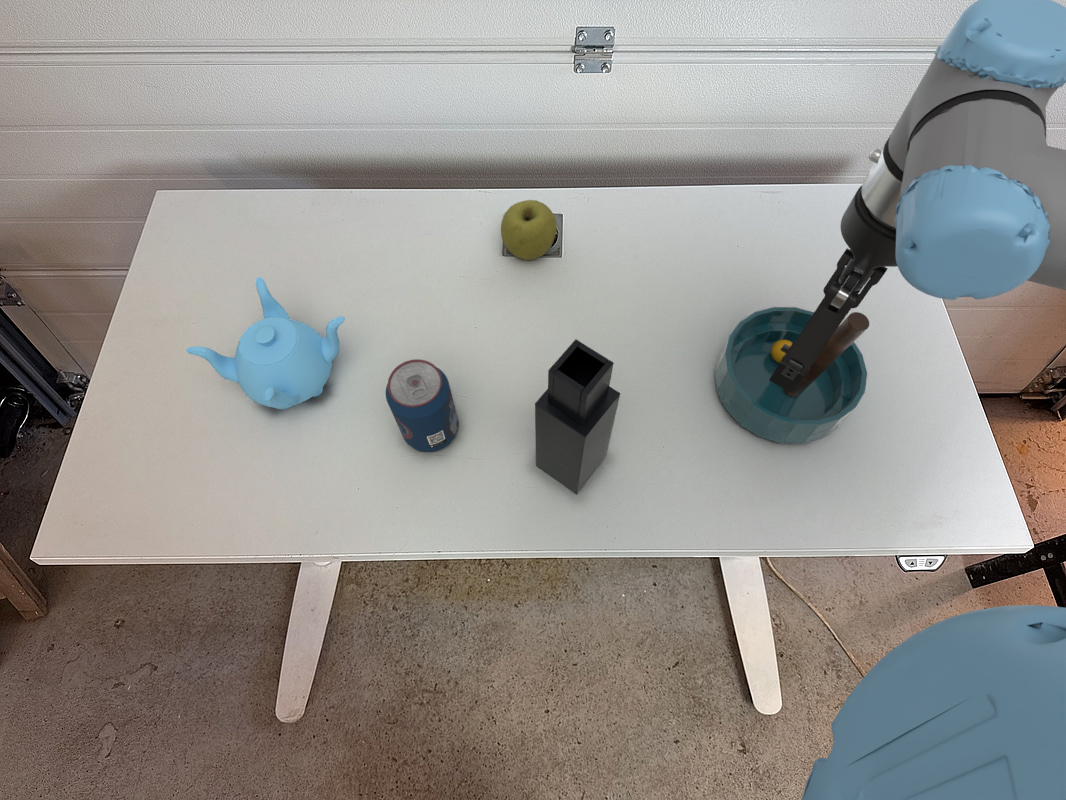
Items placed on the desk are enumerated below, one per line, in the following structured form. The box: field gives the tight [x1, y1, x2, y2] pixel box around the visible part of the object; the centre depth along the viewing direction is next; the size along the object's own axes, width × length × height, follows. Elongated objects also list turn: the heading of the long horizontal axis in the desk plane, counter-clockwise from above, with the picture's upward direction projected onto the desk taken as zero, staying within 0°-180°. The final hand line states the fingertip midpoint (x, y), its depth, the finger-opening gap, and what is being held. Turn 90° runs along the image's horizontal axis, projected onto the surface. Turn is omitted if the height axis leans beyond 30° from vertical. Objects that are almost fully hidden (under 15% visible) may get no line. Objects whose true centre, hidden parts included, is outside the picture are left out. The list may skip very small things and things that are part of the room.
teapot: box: [185, 276, 346, 410], centre depth 77 cm, size 13×13×10 cm
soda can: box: [385, 358, 460, 453], centre depth 72 cm, size 7×7×12 cm
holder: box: [534, 338, 621, 495], centre depth 66 cm, size 6×6×22 cm
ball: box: [771, 340, 792, 363], centre depth 80 cm, size 3×3×3 cm
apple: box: [500, 199, 558, 261], centre depth 88 cm, size 8×8×7 cm
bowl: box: [714, 306, 868, 445], centre depth 77 cm, size 16×16×6 cm
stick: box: [784, 311, 870, 398], centre depth 72 cm, size 2×2×16 cm
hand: (806, 346), depth 72 cm, fingers open, 12 cm apart
